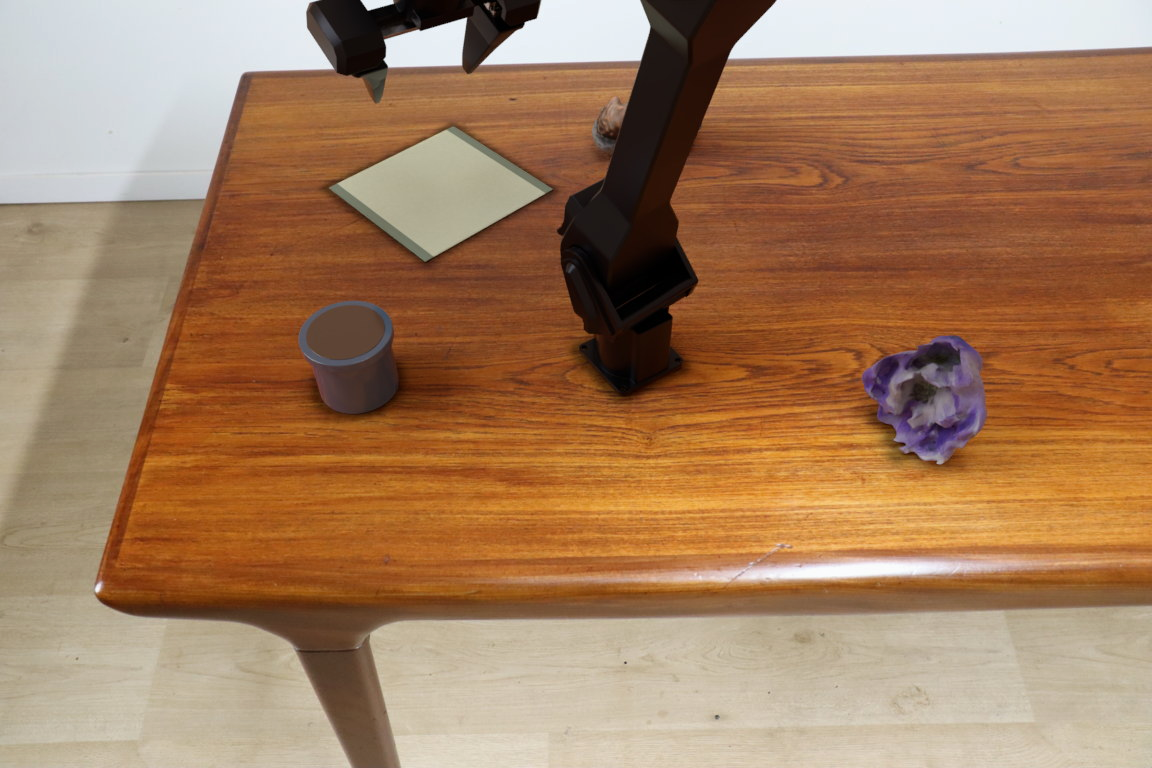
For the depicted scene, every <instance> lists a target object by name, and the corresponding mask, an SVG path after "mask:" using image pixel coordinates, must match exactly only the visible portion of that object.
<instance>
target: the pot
mask: <svg viewBox="0 0 1152 768" xmlns="http://www.w3.org/2000/svg"><path fill="white" fill-rule="evenodd" d="M394 338H395V329H394V324H393V321H392V318H391V316H390V314H388V312H387V311H386V310H384V309H383V308H382V307H380V306H378V305H376V304H374V303H372V302H368V301H362V300H344V301H339V302H335V303H331V304H328V305H326V306H324V307H321V308H320V309H318V310H316V311H315V312H314V313H312V314H311V315H310V316H309V317H308V318H307V319H306V320H305V321H304V322H303V324H302V325H301V328H300V329H299V333H298V340H297V341H298V347H299V350H300V352H301V353H300V354H301V356H302V357H303V358H304V360H305V361H306V362H307V363H308V364H309V365H310V366H311V369H312V372H313V375H314V379H315V382H316V386H317V388H318V391H319V395H320V397H321V399H322V401H323V403H324V404H325V405H326V406H328V407H329V408H330V409H331V410H333V411H336V412H339V413H342V414H347V415H359V414H366V413H369V412H373V411H375V410H377V409H379V408H381V407H383V406H384V405H385V404H387V403H388V402H389V401H390V400H391V399H392V398H393V397H394V395H395V394H396V392H397V391H398V388H399V384H400V376H399V372H398V366H397V363H396V359H395V354H394V348H393V343H394Z"/></svg>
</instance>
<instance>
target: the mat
mask: <svg viewBox="0 0 1152 768" xmlns="http://www.w3.org/2000/svg"><path fill="white" fill-rule="evenodd" d="M328 189H329V190H330V191H332V193H334V194H336V195H337V196H338V197H339V198H341V199H342V200H343V201H344V202H346V203H347V204H348V205H350V206H351V207H352V208H354V209H355V210H357V211H358V213H360V214H362V215H363V216H364V217H366V218H367V219H368V220H369V221H371V222H372V223H373V224H375V225H376V226H377V227H378V228H380V229H381V230H383V231H384V232H385V233H386V234H388V235H389V236H390V237H392V238H393V239H394V240H396V241H397V243H399V244H401V246H403V247H405V248H406V249H407V250H409V251H410V252H411V253H412V254H414V256H416V257H417V258H419V259H420V260H421V261H423V262H424V263H426V262H428V261H430V260H432V259H434V258H435V257H437V256H439V255H440V254H442V253H444V252H446V251H448V250H449V249H451V248H453V247H455V246H456V245H458V244H460V243H462V242H464V241H465V240H467V239H469V238H471V237H473V236H474V235H476V234H478V233H479V232H482V231H483V230H485V229H486V228H488V227H490V226H492V225H494V224H495V223H497V222H499V221H501V220H502V219H504V218H506V217H507V216H510V215H511V214H513V213H514V212H516V211H519V210H520V209H522V208H524V207H525V206H527V205H529V204H531V203H533V202H534V201H536V200H537V199H540V198H541V197H544V195H546V194H548V193H550V192H552V191H553V190H554V189H553V188H552V187H550V186H549V185H547V184H546V183H544V182H543V181H541V180H540V179H537V178H536V177H535V176H533V175H532V174H530V173H528V172H526V171H525V170H524V169H522V168H520V167H519V166H518V165H516V164H514V163H513V162H511V161H509V160H508V159H506V158H505V157H503V156H502V155H500V154H498V153H497V152H495V151H494V150H492V149H491V148H489V147H487V146H485V145H484V144H482V143H481V142H479V141H478V140H476V139H475V138H473V137H472V136H470V135H468V134H467V133H466V132H464V131H462V130H460V129H459V128H457V127H456V126H453V125H452V126H451V127H449V128H447V129H444V130H443V131H441V132H439V133H437V134H435V135H432V136H430V137H429V138H426V139H424V140H423V141H420V142H418V143H416V144H414V145H412V146H410V147H408V148H406V149H404V150H402V151H400V152H398V153H396V154H394V155H393V156H389V157H388V158H386V159H384V160H382V161H380V162H378V163H376V164H374V165H372V166H369V167H368V168H366V169H363V170H361V171H360V172H358V173H355V174H354V175H352V176H349V177H347V178H345V179H344V180H342V181H339V182H337V183H335V184H333V185H331V186H329V187H328Z"/></svg>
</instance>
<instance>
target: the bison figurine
mask: <svg viewBox="0 0 1152 768" xmlns="http://www.w3.org/2000/svg"><path fill="white" fill-rule="evenodd" d="M627 104H628V101H627V102H624V103H622V101H621V99H620V97H619V96H617V95H615V96H613V97H612V98H611V99H610V100H609V101H608V102H607V103H606V105H604V106H602V108H601V109H600V111H599V113H598V116H597V117H596V119H595V121H594V122H593V125H592V128H591V136H592V140H593V142H594V144H595V145H596V147H597V149H599V150H600V151H601V152H603V153H605V154H609V155H612V153H613V150H614V147H615V143H616V140H617V137H618V133H619V130H620V127H621V124H622V120H623V117H624V114H625V110H626V107H627ZM702 128H703V123H702V124H701V126H700V129H699V131H701V130H702Z"/></svg>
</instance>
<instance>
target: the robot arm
mask: <svg viewBox="0 0 1152 768" xmlns="http://www.w3.org/2000/svg"><path fill="white" fill-rule="evenodd" d="M639 1H640V4H641V6H642V9H643V12H644V14H645V16H646V19H647V20H648V24H649V31H648V36H647V39H646V41H645V45H644V47H643V51H642V54H641V59H640V62H639V64H638V65H639V66H638V69H637V72H636V75H635V78H634V81H633V84H632V88H631V90H630V95H629V98H628V100H627V102H628V104H627V107H626V110H625V114H624V117H623V120H622V124H621V127H620V130H619V133H618V137H617V140H616V143H615V147H614V150H613V153H612V154H611V156H610V159H609V163H608V166H607V169H606V173H605V175H604V178H602V179H600V180H598V181H596V182H593V184H591V185H589V186H587V187H585V188H583V189H581V190H579V191H577V192H575V193H573V194H571V195H570V196H569V197H568V199H567V201H566V203H565V205H564V214H563V221H562V223H561V225H560V227H558V228H557V229H556V233H557V234H558V235H559V236H561V240H560V247H559V252H560V266H561V271H562V274H563V277H564V281H565V285H566V288H567V293H568V297H569V299H570V304H571V307H572V310H573V312H574V314H575V315H577V317H579V318H580V319H582V323H583V331H584V332H586V333H587V334H588V335H593V338H591V339H588V340H586V341H584V342H583V343H580V344H579V345H578V353H579V354H580V355H581V357H583V358H584V360H585V361H586V362H587V363H588V364H589V365H590V366H591V367H592V368H593V370H595V372H596V373H597V374H598V375H599V376H600V377H601V378H602V379H603V380H604V381H605V382H606V383H607V384H608V386H610V387H611V388H612V390H614V392H615V393H616V394H617V395H619V396H620V397H625V396H628V395H629V394H631V393H633V392H635V391H637V390H639V389H642V388H643V387H646V386H647V385H649V384H650V383H653V382H655V381H656V380H658V379H660V378H663V377H664V376H667V375H669V374H671V373H672V372H674V371H676V370H679V369H680V368H682V367H683V366H684V362H685V361H684V358H683V357H682V356H681V355H680V353H678V352H677V350H675V349H674V348H673V347H672V346H671V344H672V343H671V342H672V331H673V319H674V316H673V315H672V314H671V312H670V307H671V306H673V305H674V304H676V303H678V302H679V301H681V300H682V299H684V298H688V297H689V296H691V295H692V294H693V293H694V291H695V289H696V288H697V285H698V284H699V278H698V275H697V274H696V272H695V270H694V268H693V266H692V264H691V262H690V260H689V258H688V256H687V254H686V253H685V250H684V248H683V246H682V244H681V242H680V241H679V239H678V236H677V235H678V232H679V231H678V230H679V225H680V220H679V218H678V216H677V214H676V212H675V210H674V208H673V206H672V205H671V200H672V197H673V195H674V192H675V190H676V188H677V185H678V183H679V180H680V178H681V175H682V172H683V171H684V168H685V165H686V163H687V160H688V158H689V156H690V153H691V151H692V148H693V146H694V144H695V141H696V138H697V136H698V133H699V131H700V130H701V129H700V126H701V124H702V125H703V121H704V119H705V116H706V114H707V112H708V109H709V106H710V104H711V101H712V99H713V96H714V95H715V91H716V90H717V87H718V85H719V81H720V79H721V77H722V74H723V72H724V70H725V67H726V64H727V62H728V60H729V57H730V55H731V53H732V50H733V48H734V47H735V45H736V44H737V43H738V42H739V41H740V40H741V39H742V38H743V37H744V36H745V35H746V33H748V31H750V30H751V28H752V27H753V26H754V25H755V24H756V23H757V22H758V21H759V20H760V19H761V18H763V16H764V15H765V14H766V13H767V12H768V11H769V10H770V9H771V8H772V7H773V6H774V5H775V4H776V2H777V1H778V0H639ZM392 2H393V3H391V4H387V5H384V6H380V7H376V8H371V9H369V10H368V9H367V7H366V5H365V4H364V2H363V1H362V0H315V1H311V2H309V3H308V6H307V8H306V11H305V15H306V16H305V17H306V29H307V30H308V31H309V33H310V35H311V36H312V38H313V39H314V41H315V42H316V44H317V45H318V47H319V48H320V50H321V51H322V53H323V54H324V56H325V57H326V60H328V62H329V64H330V65H331V67H332V68H333V70H334V71H335V72H336V74H338V75H342V76H345V77H349V76H352V77H353V78H355V79H362V81H363V83H364V86H365V88H366V90H367V92H368V95H369V97H370V98H371V100H372V101H373V102H374V104H375V105H376V104H379V103H381V100H382V98H383V95H384V90H385V85H386V80H387V75H388V71H389V65H388V64H387V62H386V61H385V58H387V44H386V42H385V41H386V40H388V39H391V38H395V37H398V36H402V35H405V34H408V33H412V32H415V31H419V32H422V31H427V30H429V29H433V28H437V27H440V26H443V25H446V24H447V25H448V24H450V23H454V22H457V21H460V20H464V19H466V23H465V29H464V37H463V44H462V52H461V66H462V69H463V71H464V72H465V73H466V74H467V75H470V74H472V73H474V72H475V70H476V69H477V68H478V67H480V65H481V64H482V63H483V62H484V61H485V60H486V59H487V58H488V57H489V56H490V55H491V54H492V53H493V52H495V50H496V49H498V47H500V46H501V45H502V44H503V43H504V42H505V41H506V40H508V39H509V38H510V37H511V36H512V35H513V34H514V33H515V32H516V31H518V30H522V29H523V28H524V27H525V25H526V23H527V22H531V21H534V20H537V19H538V16H539V13H540V9H541V5H542V0H392ZM699 129H700V130H699Z"/></svg>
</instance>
